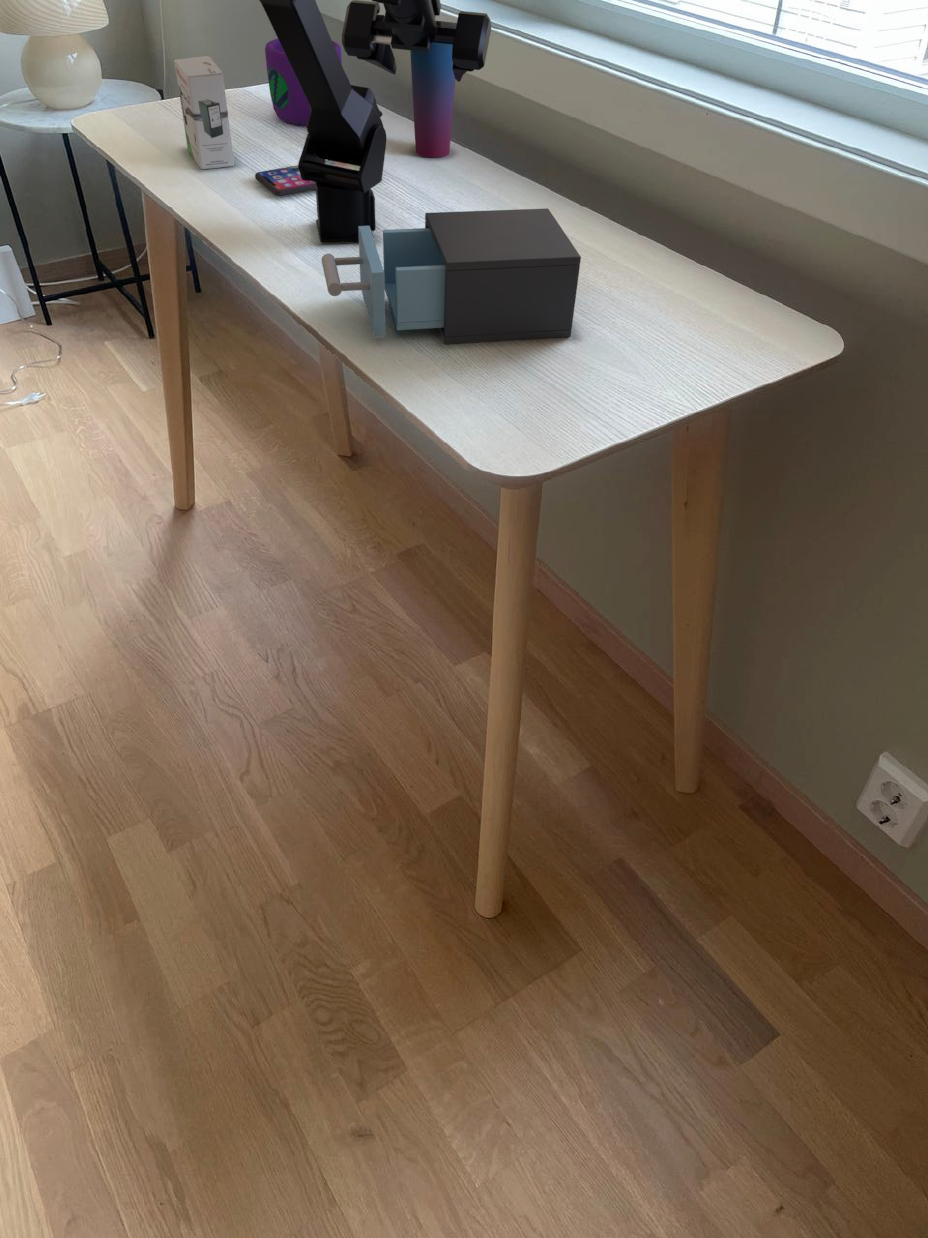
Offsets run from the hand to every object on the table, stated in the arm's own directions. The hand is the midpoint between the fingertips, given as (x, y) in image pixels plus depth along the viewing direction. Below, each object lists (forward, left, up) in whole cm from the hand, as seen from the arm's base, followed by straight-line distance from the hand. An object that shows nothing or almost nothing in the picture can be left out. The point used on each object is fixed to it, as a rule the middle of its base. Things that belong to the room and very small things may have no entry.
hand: (427, 74), depth 127 cm
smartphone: (-17, -7, -11) cm, 21 cm away
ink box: (-31, +3, -11) cm, 33 cm away
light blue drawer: (-11, -48, -10) cm, 51 cm away
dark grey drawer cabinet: (-1, -48, -11) cm, 50 cm away
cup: (+1, +3, -11) cm, 12 cm away
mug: (-14, +18, -11) cm, 25 cm away
